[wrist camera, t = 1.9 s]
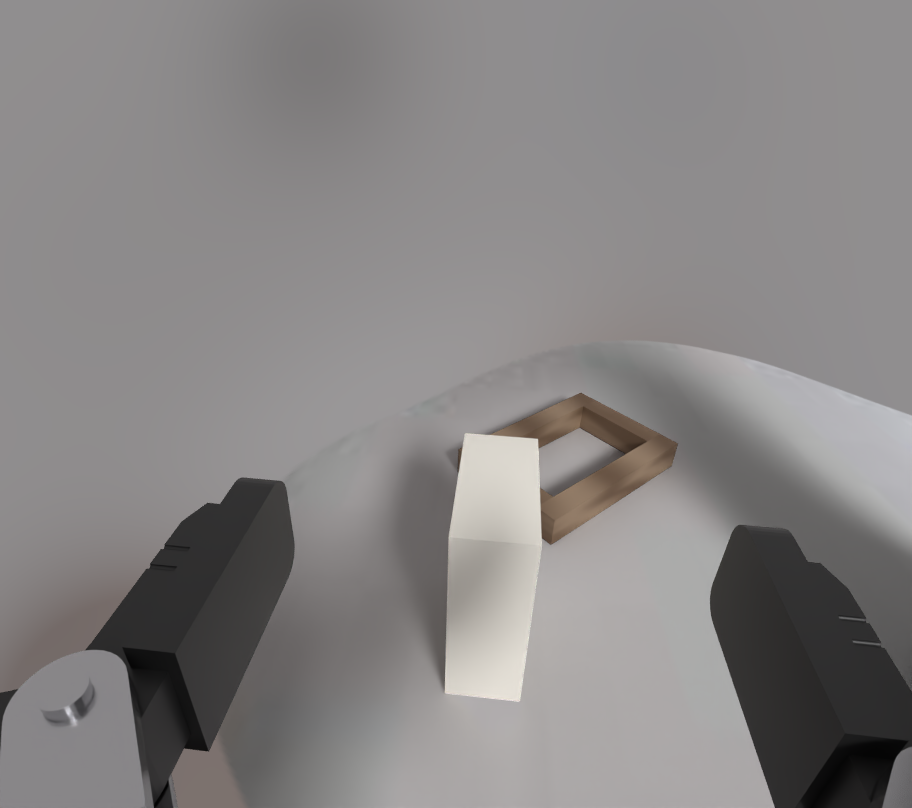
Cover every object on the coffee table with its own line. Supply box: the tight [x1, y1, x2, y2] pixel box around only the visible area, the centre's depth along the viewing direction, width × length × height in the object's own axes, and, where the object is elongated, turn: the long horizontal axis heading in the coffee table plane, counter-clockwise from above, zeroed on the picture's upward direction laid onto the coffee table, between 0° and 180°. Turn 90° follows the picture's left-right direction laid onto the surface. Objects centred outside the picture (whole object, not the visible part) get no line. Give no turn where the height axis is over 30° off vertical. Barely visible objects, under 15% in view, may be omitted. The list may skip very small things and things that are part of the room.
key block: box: [445, 433, 542, 702], centre depth 27 cm, size 4×7×10 cm, turn 174°
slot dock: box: [458, 393, 678, 544], centre depth 41 cm, size 13×9×2 cm
